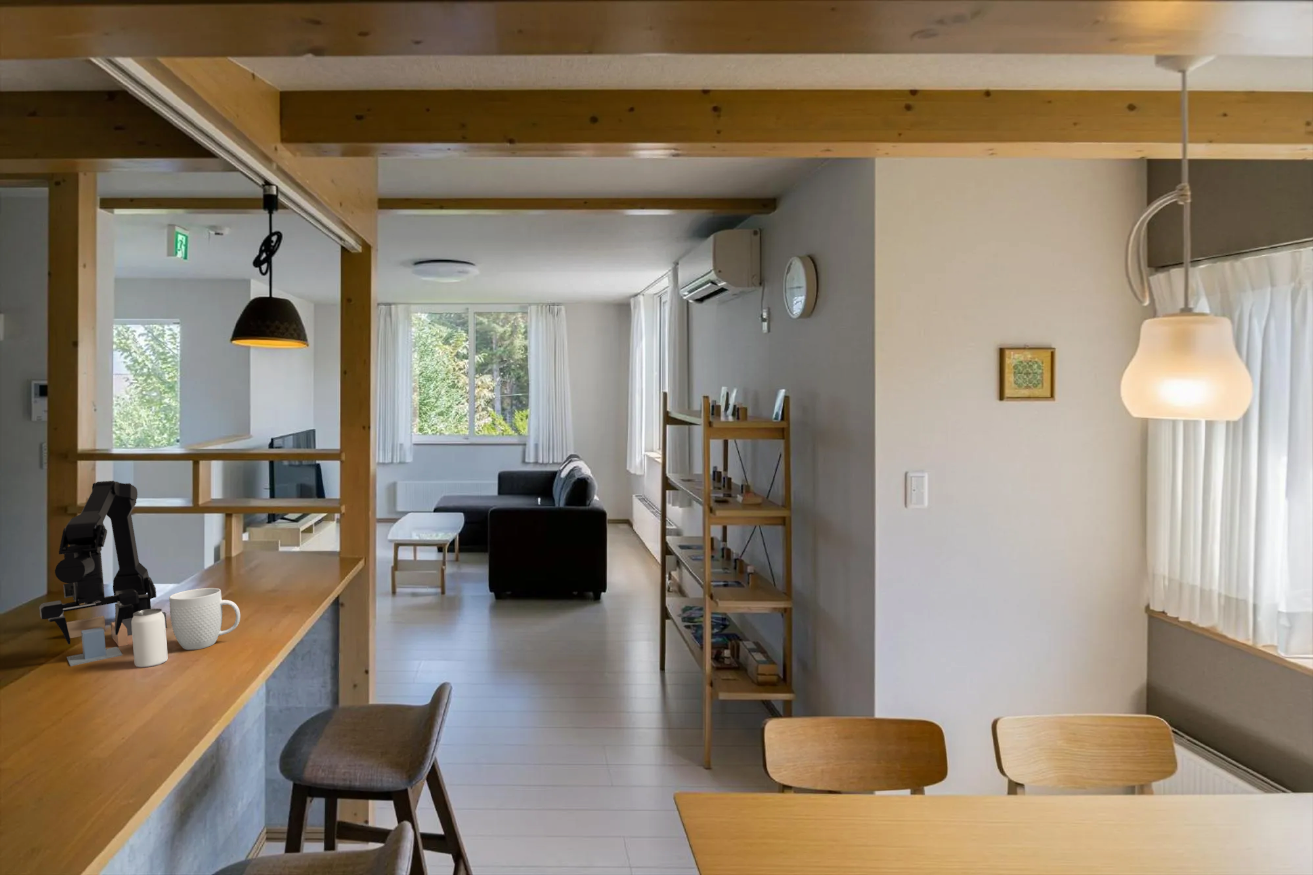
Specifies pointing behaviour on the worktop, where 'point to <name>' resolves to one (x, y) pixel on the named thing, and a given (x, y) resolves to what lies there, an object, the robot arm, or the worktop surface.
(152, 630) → the can
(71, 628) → the back block
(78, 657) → the pad
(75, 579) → the robot arm
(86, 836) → the worktop surface
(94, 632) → the plug
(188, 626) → the mug
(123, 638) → the grey tan flat block
